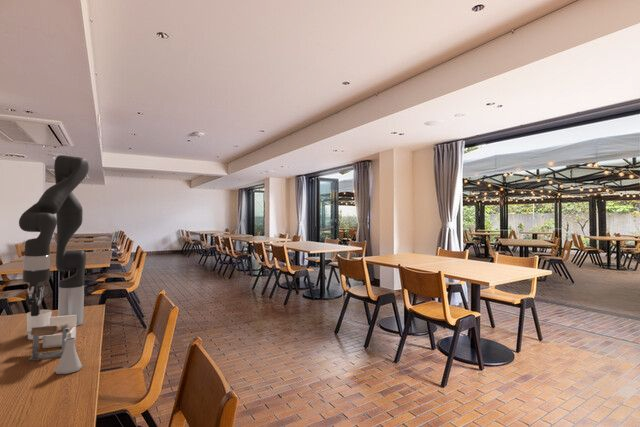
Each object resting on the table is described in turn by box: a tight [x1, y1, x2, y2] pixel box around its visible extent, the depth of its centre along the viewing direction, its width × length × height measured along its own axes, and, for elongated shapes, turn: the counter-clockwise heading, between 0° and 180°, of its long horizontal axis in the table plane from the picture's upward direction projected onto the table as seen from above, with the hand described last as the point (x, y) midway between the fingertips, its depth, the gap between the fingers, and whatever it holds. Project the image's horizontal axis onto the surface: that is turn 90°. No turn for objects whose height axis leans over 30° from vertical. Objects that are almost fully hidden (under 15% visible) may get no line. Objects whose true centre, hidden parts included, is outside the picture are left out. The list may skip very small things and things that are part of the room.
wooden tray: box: [24, 324, 68, 337], centre depth 121 cm, size 18×12×3 cm, turn 26°
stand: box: [28, 326, 69, 362], centre depth 122 cm, size 5×11×10 cm, turn 115°
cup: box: [41, 315, 77, 349], centre depth 135 cm, size 10×9×9 cm
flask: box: [54, 337, 83, 375], centre depth 112 cm, size 7×7×10 cm
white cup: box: [26, 309, 53, 341], centre depth 140 cm, size 8×8×10 cm
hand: (35, 315), depth 126 cm, fingers closed
